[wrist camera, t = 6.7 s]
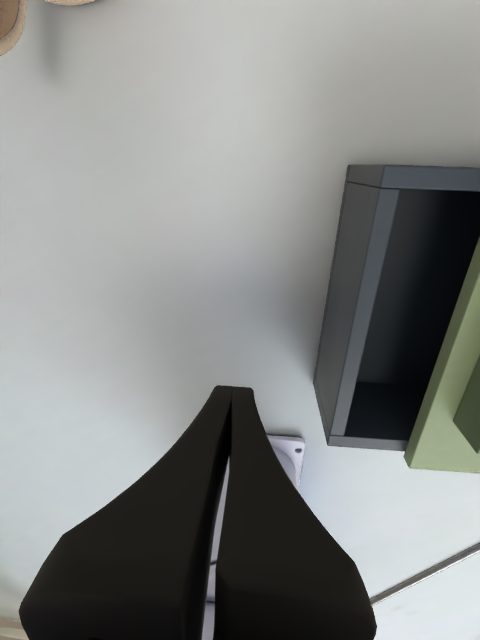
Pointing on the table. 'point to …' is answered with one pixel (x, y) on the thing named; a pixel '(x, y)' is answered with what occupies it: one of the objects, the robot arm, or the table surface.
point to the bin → (392, 297)
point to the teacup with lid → (19, 20)
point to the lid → (453, 391)
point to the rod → (426, 574)
